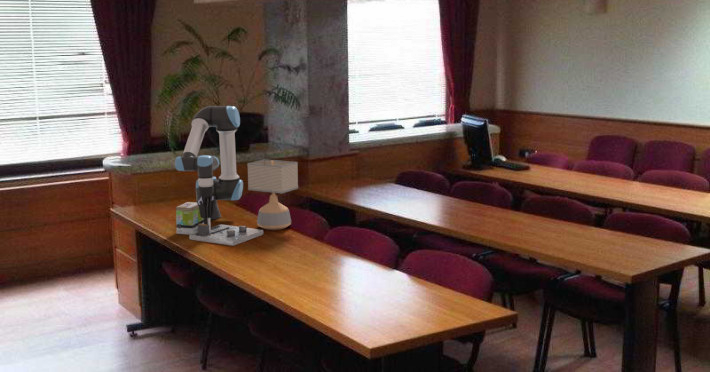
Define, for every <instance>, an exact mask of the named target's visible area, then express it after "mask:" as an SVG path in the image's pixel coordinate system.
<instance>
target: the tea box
mask: <svg viewBox="0 0 710 372" xmlns="http://www.w3.org/2000/svg"><path fill="white" fill-rule="evenodd" d="M175 214H176V215H175V217H176V218H175V220H176V221H175V222H176V224H175V225H176V234H177V235H178V234H179V235H190V234H193V233H194V232H198V225H199V224H204V218H201V216H200V211H199V206H198V204H197V201H196V202H195V201H193V202H192V201H186V202H184V203H182V204H180V205H178V206H176V207H175Z"/></svg>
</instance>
